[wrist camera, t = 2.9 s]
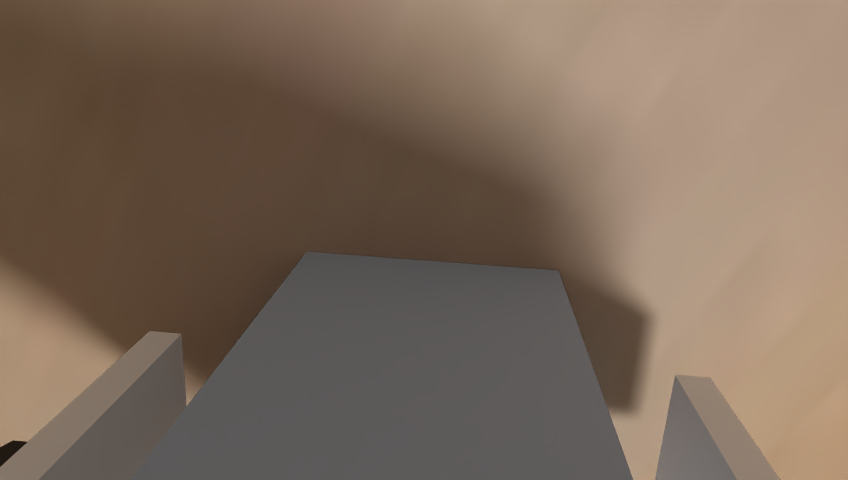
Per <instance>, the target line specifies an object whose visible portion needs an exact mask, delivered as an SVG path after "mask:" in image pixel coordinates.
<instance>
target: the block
mask: <svg viewBox="0 0 848 480" xmlns="http://www.w3.org/2000/svg"><path fill="white" fill-rule="evenodd" d="M130 480H633V478H632V475H631V472H630V470H629V467H628V464H627V461H626V458H625V456H624V453H623V450H622V447H621V444H620V442H619V439H618V436H617V433H616V430H615V428H614V425H613V422H612V419H611V416H610V414H609V411H608V408H607V405H606V402H605V400H604V397H603V394H602V391H601V388H600V386H599V383H598V380H597V377H596V374H595V372H594V369H593V366H592V363H591V360H590V358H589V355H588V352H587V349H586V346H585V344H584V341H583V338H582V335H581V332H580V330H579V327H578V324H577V321H576V318H575V316H574V313H573V310H572V307H571V304H570V302H569V299H568V296H567V293H566V290H565V288H564V285H563V282H562V279H561V276H560V274H559V271H558V270H547V269H533V268H520V267H507V266H493V265H480V264H466V263H453V262H440V261H426V260H413V259H399V258H386V257H373V256H359V255H346V254H332V253H319V252H306V253H305V254H304V256H303V257H302V258H301V260H300V261H299V262H298V263H297V265H296V266H295V267H294V269H293V270H292V271H291V273H290V274H289V275H288V276H287V278H286V279H285V280H284V282H283V283H282V284H281V285H280V287H279V288H278V289H277V291H276V292H275V293H274V294H273V296H272V297H271V298H270V300H269V301H268V302H267V304H266V305H265V306H264V307H263V309H262V310H261V311H260V313H259V314H258V315H257V316H256V318H255V319H254V320H253V322H252V323H251V324H250V325H249V327H248V328H247V329H246V331H245V332H244V333H243V335H242V336H241V337H240V338H239V340H238V341H237V342H236V344H235V345H234V346H233V347H232V349H231V350H230V351H229V353H228V354H227V355H226V357H225V358H224V359H223V360H222V362H221V363H220V364H219V366H218V367H217V368H216V369H215V371H214V372H213V373H212V375H211V376H210V377H209V378H208V380H207V381H206V382H205V384H204V385H203V386H202V388H201V389H200V390H199V391H198V393H197V394H196V395H195V397H194V398H193V399H192V400H191V402H190V403H189V404H188V406H187V407H186V408H185V410H184V411H183V412H182V413H181V415H180V416H179V417H178V419H177V420H176V421H175V422H174V424H173V425H172V426H171V428H170V429H169V430H168V431H167V433H166V434H165V435H164V437H163V438H162V439H161V441H160V442H159V443H158V444H157V446H156V447H155V448H154V450H153V451H152V452H151V453H150V455H149V456H148V457H147V459H146V460H145V461H144V462H143V464H142V465H141V466H140V468H139V469H138V470H137V472H136V473H135V474H134V475H133V477H132V478H131V479H130Z"/></svg>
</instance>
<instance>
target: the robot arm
mask: <svg viewBox="0 0 848 480" xmlns="http://www.w3.org/2000/svg"><path fill="white" fill-rule="evenodd" d="M186 407H187V406H186V392H185V377H184V362H183V347H182V334H178V333H166V332H154V331H149V332H148V333H147V334H146V335H145V336H144V337H143V338H141V339H140V340H139V341H138V342H137V343H136V344H135V345H134V346H133V347H132V348H130V349H129V350H128V351H127V352H126V353H125V354H124V355H123V356H122V357H121V358H119V359H118V360H117V361H116V362H115V363H114V364H113V365H112V366H111V367H110V368H108V369H107V370H106V371H105V372H104V373H103V374H102V375H101V376H100V377H99V378H97V379H96V380H95V381H94V382H93V383H92V384H91V385H90V386H89V387H88V388H86V389H85V390H84V391H83V392H82V393H81V394H80V395H79V396H78V397H77V398H75V399H74V400H73V401H72V402H71V403H70V404H69V405H68V406H67V407H66V408H64V409H63V410H62V411H61V412H60V413H59V414H58V415H57V416H56V417H55V418H53V419H52V420H51V421H50V422H49V423H48V424H47V425H46V426H45V427H44V428H43V429H41V430H40V431H39V432H38V433H37V434H36V435H35V436H34V437H33V438H32V439H30V440H29V441H28V442H24V441H11V442H9V443H7V444H5V445H4V446H2V447H0V480H130V479H131V478H132V477H133V475H134V474H135V473H136V472H137V470H138V469H139V468H140V466H141V465H142V464H143V462H144V461H145V460H146V459H147V457H148V456H149V455H150V453H151V452H152V451H153V450H154V448H155V447H156V446H157V444H158V443H159V442H160V441H161V439H162V438H163V437H164V435H165V434H166V433H167V431H168V430H169V429H170V428H171V426H172V425H173V424H174V422H175V421H176V420H177V419H178V417H179V416H180V415H181V413H182V412H183V411H184V410H185V408H186ZM655 479H656V480H780V478H779V477H778V475H777V474H776V473H775V471H774V470H773V468H772V467H771V465H770V464H769V462H768V461H767V459H766V458H765V457H764V455H763V454H762V452H761V451H760V449H759V448H758V446H757V445H756V443H755V442H754V441H753V439H752V438H751V436H750V435H749V433H748V432H747V430H746V429H745V427H744V426H743V425H742V423H741V422H740V420H739V419H738V417H737V416H736V414H735V413H734V411H733V410H732V408H731V407H730V406H729V404H728V403H727V401H726V400H725V398H724V397H723V395H722V394H721V392H720V391H719V390H718V388H717V387H716V385H715V384H714V382H713V381H712V379H711V378H708V377H696V376H684V375H675V379H674V384H673V389H672V394H671V399H670V405H669V410H668V415H667V420H666V425H665V431H664V436H663V441H662V446H661V451H660V457H659V462H658V467H657V472H656V477H655Z"/></svg>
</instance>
